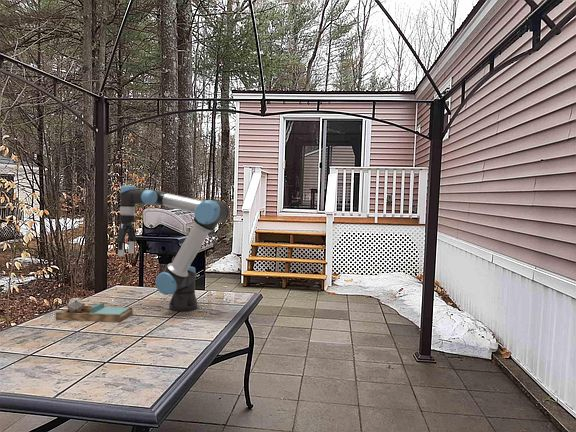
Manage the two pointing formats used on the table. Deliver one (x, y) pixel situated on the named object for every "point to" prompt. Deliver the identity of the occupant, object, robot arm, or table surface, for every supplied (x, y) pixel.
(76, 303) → the game die
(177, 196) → the robot arm
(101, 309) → the cover
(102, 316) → the board
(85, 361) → the table surface
